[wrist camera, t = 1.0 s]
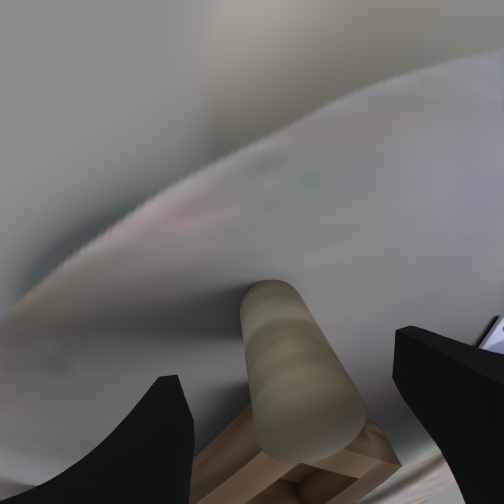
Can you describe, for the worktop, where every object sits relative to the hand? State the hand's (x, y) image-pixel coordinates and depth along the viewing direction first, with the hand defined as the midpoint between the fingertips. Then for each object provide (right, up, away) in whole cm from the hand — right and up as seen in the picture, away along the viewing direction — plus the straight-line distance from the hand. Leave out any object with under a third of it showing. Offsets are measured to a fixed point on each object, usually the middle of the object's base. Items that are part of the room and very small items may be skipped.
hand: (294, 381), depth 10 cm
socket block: (-1, -11, +9) cm, 14 cm away
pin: (0, +1, +6) cm, 6 cm away
